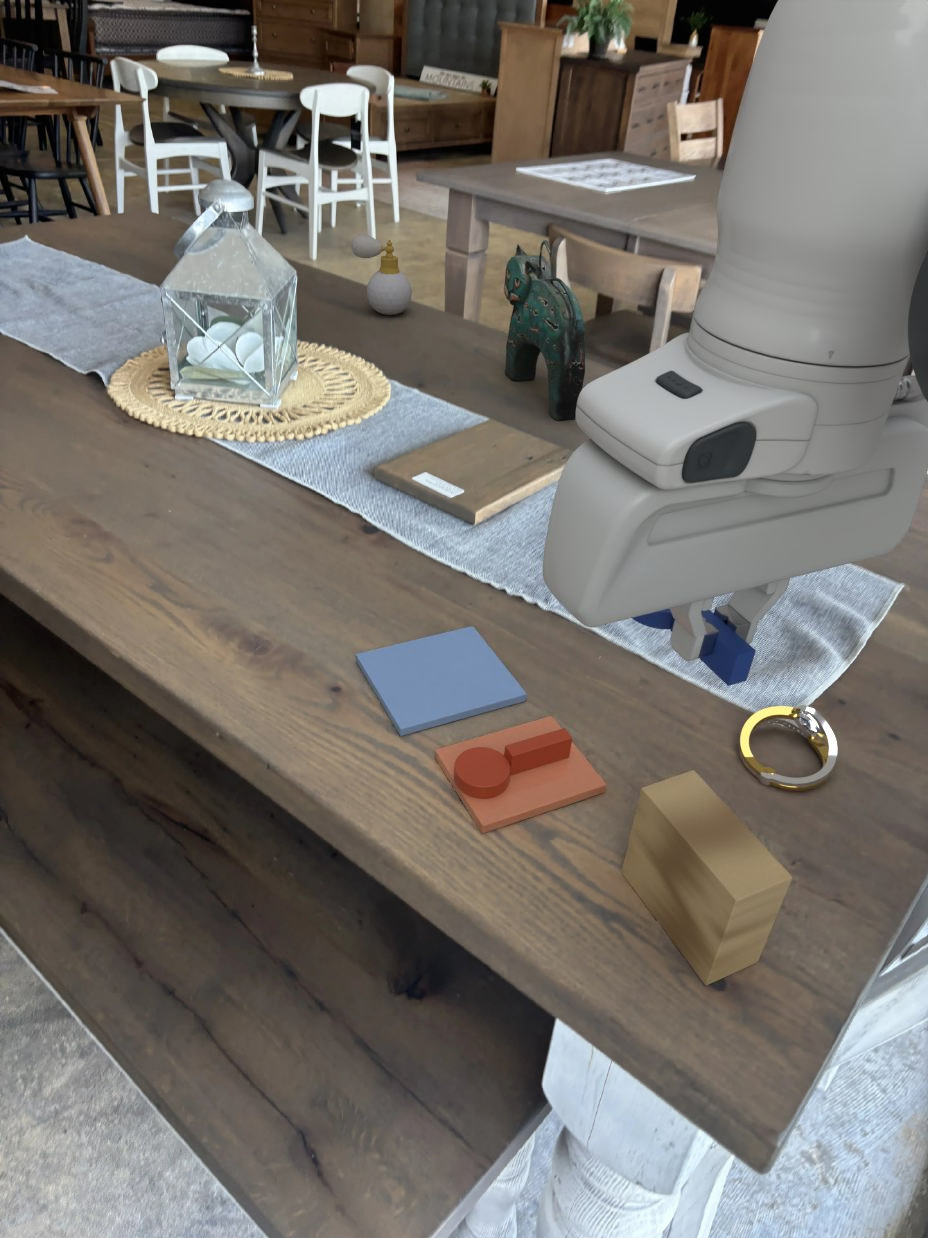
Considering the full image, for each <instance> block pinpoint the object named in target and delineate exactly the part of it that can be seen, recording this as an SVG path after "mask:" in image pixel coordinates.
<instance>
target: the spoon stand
mask: <svg viewBox="0 0 928 1238" xmlns="http://www.w3.org/2000/svg"><path fill="white" fill-rule="evenodd" d="M740 819H741V818H739V817H738V816H737V815H736V814H735V813H734V812H733V811H732V810H731V808H730V807H729V806H728V805H727V804H726V803H725V802H724V801H723V799H721V797H719V795H718V794H717V793H716V792H715V791H714V790H713V789H712V788H711V787H710V786H709V784H708V783H707V782H706V781H705V780H704V779H703V778H702V777H701V776H700V775H699V774H698V773H697V772H696V770H694V769H692V770H690V771H686V772H683V773H680V774H677V775H674V776H672V777H669V778H665V779H662V780H660V781H657V782H654V783H651V784H649V785H645V786H642V787H641V788H640V793H639V797H638V801H637V805H636V808H635V812H634V818H633V820H632V821H633V822H632V826H631V831H630V835H629V837H628V838H629V839H628V843H627V847H626V851H625V856H624V860H623V865H622V868H621V874H622V875H623V876H624V879H626V881H627V882H628V884H629V885H630V886H631V888H632V889H633V891H634V892H635V893H636V894H637V895H638V897H639V899H641V901H642V903H643V904H644V906H646V908H647V910H649V912H650V913H651V915H653V917H654V919H655V920H656V921H657V923H658V924H659V925H660V927H661V928H662V929H663V930H664V932H665V933H666V934H667V936H668V937H669V938H670V940H671V941H672V943H673V944H674V945H675V947H676V948H677V949H678V951H679V952H680V953H681V955H682V956H683V958H684V959H685V960H686V961H687V962H688V964H689V966H690V967H691V969H693V970H694V972H695V973H696V975H697V976H698V978H699V979H700V980H701V981H702V983H703V984H704V985H705V986H709V985H711V984H713V983H716V982H718V981H720V980H722V979H724V978H727V977H728V976H730V975H731V976H732V975H733V974H735V973H737V972H740V971H741V970H744V969H746V968H748V967H750V966H752V965H755V964H757V963H759V961H760V959H761V956H762V955H763V951H764V949H765V946H766V944H767V941H768V940H769V936H770V934H771V931H772V929H773V926H774V924H775V922H776V919H777V917H778V915H779V912H780V910H781V907H782V905H783V902H784V901H785V898H786V895H787V893H788V890H789V887H790V885H791V882H792V880H793V875H791V874H790V872H789V871H788V870H787V869H786V868H785V867H784V866H783V865H782V863H780V862H779V860H778V859H777V858H776V857H775V855H773V854H772V853H771V852H770V850H768V849H767V847H766V846H765V845H764V843H762V841H760V840H759V838H757V836H756V835H754V833H753V832H752V831H751V830H750V829H749V828H748V826H746V824H745V823H744V822H743V821H742V820H740Z"/></svg>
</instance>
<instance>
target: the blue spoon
mask: <svg viewBox="0 0 928 1238" xmlns="http://www.w3.org/2000/svg"><path fill="white" fill-rule="evenodd" d="M701 614H702V616H703V617H704V618H705V619H706V622H707V623H710V624H712V625H713V626H714V627H715V628H716V629H717V630H719V634H718V637H717V640H716V642H715V644H714V645H713V647H714V650H713V653H712V654H710V655H708V656H704V657H701V658H698V659H699V660H700V661H701V662H702V663H703V664H704V665H705V666H706V667H707V668H708V669H710V670H711V671H712V672H713V673H714V674H715V675H716V676H717V677H718V678H719V679H720V680H721V681H722V682H723V683H724V684H726V686H728V687H729V686H734V685H738V684H740V683H744V682H747V679H748V677H749V674H750V670H751V667H752V665H753V661H754V658H755V655H756V652H757V650H756V649H755V648H753V646H752V645H750V644H748V643H747V642H746V641H745V640H743V639H742V638H741V637H740V636H739V635H738V634H737V633H735V632H734V631H733V630H732V629H731V628H730V627H728V626H727V625H726V624H725V623H724V622H723V621H722V620H720V619H719V618H718V617H717V616H716V615H715V614H714V611H712V610H711V609H710V610H707V611H701ZM631 619H632V620H633V621H635V622H636V623H638V624H640V625H643V626H646V627H649V628H652V629H656V630H658V629H659V630H669V631H670V632H671V633H672V630H673V626H674V622H675V619H674V618H673V616H672V613H671V611H670V609H665V610H661V611H657V612H653V613H649V614H645V615H641V616H637V617H633V618H631Z"/></svg>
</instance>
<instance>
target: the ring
mask: <svg viewBox="0 0 928 1238" xmlns="http://www.w3.org/2000/svg"><path fill="white" fill-rule="evenodd" d="M770 724H777V725H782V726H783V727H787V728H788V729H791V730H792V731H793V732H796V733H797V734H798V735H801V736H802V738H804V739H806V740H807V741H808V744H810V745H811V746H812V748H813V749H814V750H815V752H816V753H817V755H818V757H819V759H820V761H821V765H822V767H821V769H820V770H818V771H817V772H816V773H813V774H810V775H808V776H802V777H792V776H791V777H790V776H785V775H781V774H778V773H777V772H776V770H775V769H774V768H772V767H770V766H763V765H762V764H761V763H760V762H759V761H757V759H756V758H755V756H754V755H753V753H752V751H751V748H750V737H751V735H752V734H753V733H754V732H755V731H756V730H758V729H759V728H761V727H763V726H766V725H770ZM832 729H833V728H832V727H831V726H830V724H829V723H828V721H827V720H826V719H825V718H824V717H823V715H822V714H821V713H820V712H819V711H818V710H816V709H815V708H813V707H812V706H809V705H805V704H802V705H801V704H800V705H798V706H795V707H794V706H787V705H786V706H785V705H775V706H768V707H765V708H763V709H760V710H758V711H756V712H755V713H753V714H752V715H751V716H749V718H748V719H747V720H746V721H745V723H744V725H743V726H742V729H741V732H740V736H739V742H738V743H739V744H738V750H739V751H738V752H739V755H740V759H741V761H742V763H743V765H744V766H745V768H746V769H747V770H748V771H749V772H750V773H751V774H752V775H753V776H754V777H756V778H757V779H758V782H759V783H760V784H761V785H763V786H766V787H770V786H772V787H775V788H778V789H781V790H786V791H791V792H792V791H795V792H801V791H802V792H803V791H808V790H809V791H810V790H813V789H816V788H818V787H820V786H822V785H824V784H825V783H826V782H827V781H828V780H829V779H830V777H831V776H832V773H833V770H834V768H835V765H836V763H837V762H836V761H837V757H838V742H837V738H836V735H835V733H834V731H833V730H832ZM818 737H820V738H822V739H823V738H824V740H825V743H824V742H823V741H822V740H821V739H819V738H818Z"/></svg>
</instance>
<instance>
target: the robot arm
mask: <svg viewBox="0 0 928 1238" xmlns="http://www.w3.org/2000/svg"><path fill="white" fill-rule="evenodd" d="M745 83H746V84H745V87H744V90H743V92H742V96H741V100H740V104H739V107H738V112H737V115H736V118H735V123H734V126H733V131H732V134H731V138H730V142H729V147H728V151H727V156H726V158H725V159H726V160H725V164H724V167H723V168H724V169H723V173H722V177H721V181H720V186H719V190H718V196H717V201H716V221H717V242H716V243H717V244H716V251H715V252H716V253H715V256H714V261H713V264H712V267H711V269H710V273H709V275H708V277H707V279H706V281H705V283H704V285H703V287H702V288H701V291H700V292H699V294H698V296H697V299H696V302H695V305H694V310H693V314H692V317H691V323H690V326H689V332H685V333H682V334H680V335H677V336H675V337H674V338H673V339H671V340H669V341H667V342H666V343H663V345H661V346H660V347H658V348H656V349H654V350H653V351H651V352H649V353H647V354H645V355H644V356H643V355H642V357H640V358H637V359H636V360H633V361H631V362H629V363H627V364H625V365H623V366H621V367H618V368H617V369H615V370H613V371H610V372H608V373H606V374H603V375H602V376H600V377H598V378H596V379H593V380H592V381H590V382H589V383H587V384H586V385H585V386H584V387H582V391H581V392H580V394H579V397H578V400H577V405H576V418H575V423H576V425H577V427H578V428H579V429H580V430H581V432H583V433H584V434H585V435H586V436H587V437H588V438H589V439H587V440H585V441H584V442H582V443H581V444H580V445H578V447H577V448H576V449H574V451H573V452H572V453H571V454H570V456H569V457H568V459H567V461H566V463H565V464H564V466H563V468H562V470H561V473H560V475H559V479H558V481H557V484H556V485H557V486H556V489H555V493H554V497H553V501H552V505H551V509H550V515H549V520H548V526H547V531H546V536H545V542H544V549H543V556H542V569H541V570H542V578H543V582H544V583H545V585H546V587H547V589H548V590H549V592H550V593H551V594H552V596H553V597H554V598H555V599H556V600H557V602H558V603H559V604H560V605H561V606H562V607H563V608H564V609H565V610H566V611H567V612H568V613H569V614H570V615H571V616H573V617H574V618H575V619H576V620H577V621H578V622H579V623H581V624H582V625H583V626H585V627H588V628H598V627H602V626H605V625H609V624H613V623H617V622H621V621H625V620H628V619H629V620H630V619H632V618H633V617H637V616H641V615H645V614H649V613H653V612H657V611H661V610H665V609H670V611H671V613H672V616H673V618H674V619H675V622H674V626H673V630H672V632H671V634H670V638H669V640H670V642H669V643H670V646H671V648H672V650H673V651H674V652H675V653H676V654H678V656H679V657H680V658H682V659H683V661H685V662H691V661H694V660H697V659H699V658H701V657H704V656H708V655H710V654H712V653H713V650H714V647H713V645H714V644H715V642H716V640H717V637H718V634H719V630H717V629H716V628H715V627H714V626H713V625H712V624H710V623H707V622H706V619H705V618H704V617H703V616H702V614H701V611H707V610H710V611H711V609H712V607H713V603H714V601H715V598H716V597H721V596H724V595H730V594H732V593H733V594H732V596H731V597H730V599H729V600H728V602H727V604H723V605H720V606H715V608H714V611H713V613H714V614H715V615H716V616H717V617H718V618H719V619H720V620H722V621H723V622H724V623H725V624H726V625H727V626H728V627H730V628H731V629H732V630H733V631H734V632H735V633H737V634H738V635H739V636H740V637H741V638H742V639H743V640H745V641H746V642H747V643H748V644H749V645H750V644H752V643H753V641H754V637H755V634H756V630H757V628H758V625H759V621H762V619H763V618H765V616H766V615H767V613H769V611H770V610H772V608H773V607H774V606H775V604H776V603H777V602H778V601H779V600H780V599H781V598H782V596H783V595H784V594H785V593H786V592H787V590H788V586H789V584H790V580H791V579H793V578H797V577H800V576H801V577H802V576H805V575H808V574H812V573H817V572H820V571H824V570H829V569H832V568H836V567H841V566H845V565H849V564H852V563H857V562H861V561H865V560H869V559H872V558H877V557H881V556H885V555H887V554H890V553H891V552H892V551H893V550H895V548H897V546H898V545H899V544H900V543H901V541H902V540H903V539H904V538H905V537H906V535H907V534H908V532H909V530H910V528H911V526H912V523H913V520H914V518H915V514H916V512H917V511H916V510H917V508H918V504H919V501H920V499H921V495H922V493H923V488H924V485H925V481H926V478H927V475H928V0H777V2H776V4H775V5H774V8H773V10H772V11H771V14H770V16H769V18H768V20H767V23H766V25H765V27H764V30H763V32H762V35H761V38H760V40H759V43H758V46H757V49H756V51H755V55H754V57H753V59H752V63H751V66H750V70H749V73H748V76H747V80H746V82H745ZM909 358H910V362H911V367H912V370H913V373H914V374H912V375H911V374H909V375H903V374H904V371H905V369H906V366H907V364H908V361H909Z"/></svg>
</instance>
